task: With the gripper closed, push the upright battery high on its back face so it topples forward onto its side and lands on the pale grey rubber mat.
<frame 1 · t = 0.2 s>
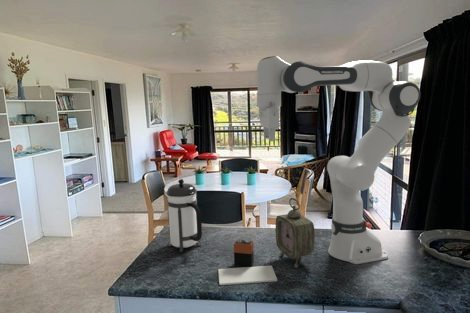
hand: (269, 139, 122), 47 cm above the kitchen counter, tool pointing down, fingers open, 8 cm apart
tabletop clock: (295, 260, 127), on the kitchen counter
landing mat: (246, 275, 116), on the kitchen counter
coffee press: (186, 246, 142), on the kitchen counter
battery: (244, 265, 125), on the kitchen counter
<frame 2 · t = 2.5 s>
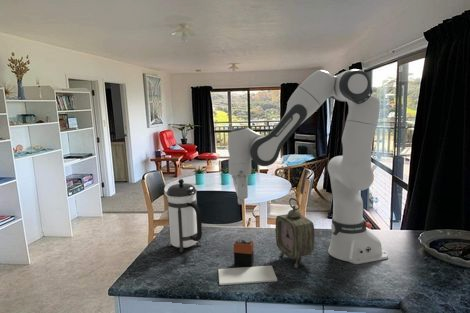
hand: (240, 203, 129), 22 cm above the kitchen counter, tool pointing down, fingers closed
nothing on the kitchen counter moved.
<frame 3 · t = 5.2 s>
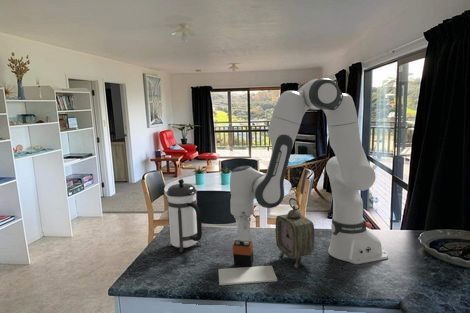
hand: (242, 242, 126), 8 cm above the kitchen counter, tool pointing down, fingers closed
battery: (244, 264, 124), on the kitchen counter, touching gripper
everything else where it was.
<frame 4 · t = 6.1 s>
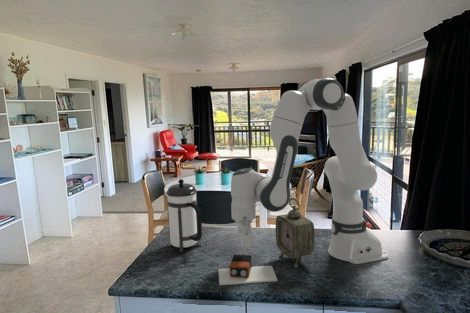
hand: (244, 248, 121), 8 cm above the kitchen counter, tool pointing down, fingers closed
battery: (242, 259, 123), point 3 cm above the kitchen counter, touching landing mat
everything else where it was.
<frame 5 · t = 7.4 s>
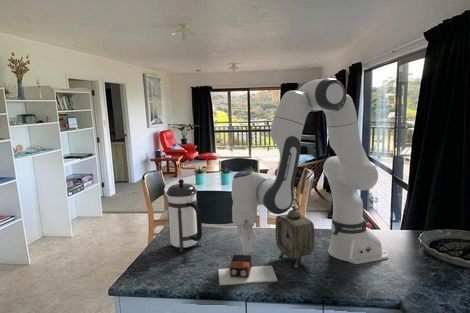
hand: (245, 253, 117), 8 cm above the kitchen counter, tool pointing down, fingers closed
nothing on the kitchen counter moved.
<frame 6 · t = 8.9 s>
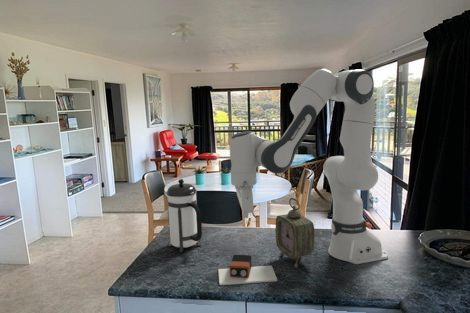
hand: (245, 216, 115), 21 cm above the kitchen counter, tool pointing down, fingers closed
nothing on the kitchen counter moved.
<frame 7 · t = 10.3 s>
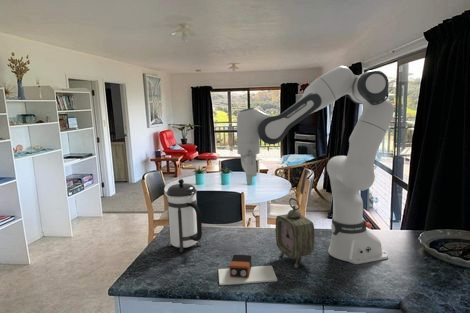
hand: (249, 182, 132), 29 cm above the kitchen counter, tool pointing down, fingers closed
nothing on the kitchen counter moved.
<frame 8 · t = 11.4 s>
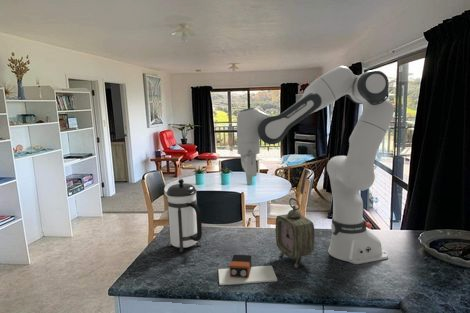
hand: (249, 182, 132), 29 cm above the kitchen counter, tool pointing down, fingers closed
nothing on the kitchen counter moved.
at the end: battery tilted 90°; battery touching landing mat; battery inside the target area (1.9 cm from its centre), point 2.8 cm above the kitchen counter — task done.
